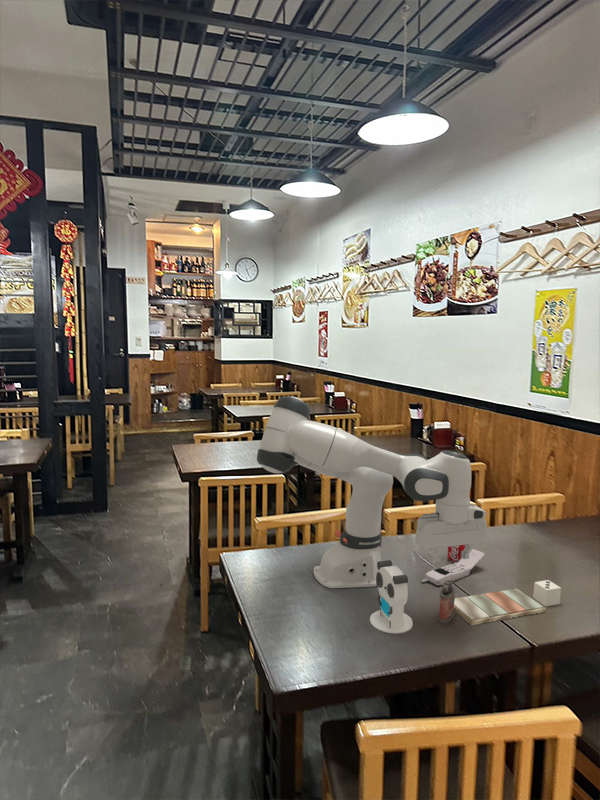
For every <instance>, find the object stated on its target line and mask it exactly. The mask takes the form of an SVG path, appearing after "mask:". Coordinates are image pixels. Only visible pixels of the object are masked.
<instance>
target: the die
mask: <svg viewBox="0 0 600 800" xmlns="http://www.w3.org/2000/svg"><path fill="white" fill-rule="evenodd" d="M533 584H534V586H533V597H532V599H533V600H534V601H536V602H537V603H539V604H540V605H542V606H543V607H550V606H558V605H560V604H561V595H562V587H560V586H559V585H557V584H556V583H554V582H553V581H550V580H549V579H547V580H545V579H544V580H539V581H534V583H533Z"/></svg>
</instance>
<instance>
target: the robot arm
mask: <svg viewBox="0 0 600 800" xmlns="http://www.w3.org/2000/svg"><path fill="white" fill-rule="evenodd" d="M310 416H311V409H310V407H309V405H308V404H307V403H306V402H305V401H303V399H301V398H299V397H296V396H290V395H289V396H288V395H287V396H286V395H284V396H281V397H279V398H278V399H277V401H276V402H275V404H274V406H273V410H272V412H271V414H270V416H269V417H268V420H267V422H266V425H265V429H264V431H263V435H262V438H261V441H260V442H261V443H260V445H259V448H258V449H257V453H256V461H257V463H258V465H260V466H261V467H262V468H263V469H264V470H266V471H268V472H270V473H273V474H285V473H287V472H290V470H291V469H292V468H293V467H294V466H298V465H299V466H302V467H304V468H306V469H309V470H311V471H313V472H317V473H318V474H322V475H324V476H327V477H331V478H336V479H339V480H342V481H344V482H347V483H349V484H350V485H351V486H352V493H351V497H350V500H349V502H348V503H347V505H346V508H345V528H344V530H343V532H342V531H340V530H339V529H336V530H334V533H333V534H334V535H335V537H336V538H338V539H339V541H338V542H337V543H335V545H333V546H332V547H331V548H329V549H328V550H327V551H325V552H324V553H323V554H322V557H321V560H320V564H319V565H316V566H314V568H313V571H312V572H313V573H312V574H313V576H314V578H315V580H316V581H318V583H320V584H321V585H322V586H324V587H325V588H329V589H346V588H351V589H352V588H369V587H370V588H372V587H376V586H377V584H376V575H377V572H379V570H378V568H377V562H378V561H382V558H381V548H382V539H383V537H382V531H381V525H382V509H383V505H384V501H385V497H386V495H387V494H388V493H389V492H390V490H391V489H392V487H393V486H394V485H393V484H394V478H395V479H397V480H398V481H399V482H400V484H401V485H402V488H403V489H404V492H405V493H406V494H407V496H408V497H410V499H412V500H414V501H417V502H430V501H435V509H434V512H432V513H423V514H422V515H421V516H420V517H418V518H417V520H416V521H417V522H416V530H415V531H416V532H415V537H414V541H415V545H416V546H417V547H418V548H420V549H421V550H424V551H425V550H427V551H428V553H429V555H430V562H431V563H432V564H439V562H440V556H438V555H437V554H435V552H436V551H437V549H441V548H448V547H450V546H458V545H466V547H465V549H464V551H461V558H463V559H469V553H470V552H471V550H472V549H474V544H480V543H484V542H485V541H486V539H487V535H488V534H487V533H488V528H487V527H488V525H487V523H488V522H487V520H486V519H485V518H486V517H487V511H486V510H484V509H482V508H481V507H479V506H478V505H475V504H472V503H471V499H470V490H471V488H472V466H471V465H472V464H471V461H470V459H469V458H468V457H467V455H465V454H463V453H460V452H459V451H458V452H457V451H454V450H449V449H448V450H442V451H440V452H439V453H438V454H437V455H435V456H434V457H431V458H429V459H428V457H426V456H425V455H422V454H419V453H406V454H405V453H397V452H394V451H390V450H388V449H384V448H381V447H379V446H376V445H372V444H370V443H368V442H366V441H364V440H362V439H361V438H359V437H357V436H356V435H354V434H352V433H349V432H348V431H346V430H343V429H342V428H341V429H340V428H338V427H335V426H333V425H329V424H326V423H322V422H318V421H313V420H310Z"/></svg>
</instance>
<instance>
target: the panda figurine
mask: <svg viewBox="0 0 600 800" xmlns="http://www.w3.org/2000/svg"><path fill="white" fill-rule="evenodd" d="M377 568H378V570H379V572H377V575H376V584H377V585H376V586H377V588H378V593H379V595H378V597H377V601H378V605H379V606H380V607H379V608H380V609H378V610H376V611H375V612H373V613H371V615H370V617H369V622H370V624H371V625H372V626H373V627H374V628H375V629H377V630H379V631H380V632H383V633H387V634H404V633H407V632H408V631H411V629H412V628H413V624H414V623H413V619H412V617H410V616H409V615H408V614H407V613H405V610H404V609H405V605H406V604H407V602H408V596H409V595H408V594H409V591H408V589H409V588H408V583H409V577H408V575H407V574H404V573H403V571H402V570H401V569H400V568H399V567H398V566H396V565H393V563H392V560H389V559H388V560H387V559H386V560H381V561H378V562H377Z"/></svg>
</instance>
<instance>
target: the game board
mask: <svg viewBox="0 0 600 800" xmlns="http://www.w3.org/2000/svg"><path fill="white" fill-rule="evenodd" d="M542 612H544V613H546V612H547V608H546V607H545V606H544V605H543V604H541V603H540V602H538V601H537V600H535V599H534V598H531V597H530V596H529V595H527V594H525V593H524V592H523V591H521V590H519V589H518V588H513V589H507V590H505V589H504V590H500V591H492V592H486V593H479V594H474V595H468V596H462V597H461V596H460V597H455V601H454V613H456V614H458V615H459V616H460V617H461V618H462V619H463V620H464V621H465V622H467V623H468V624H469V625H470V626H475V625H481V624H486V623H493V622H497V620H499V621H503V620H502V619H504V620H509V619H508V618H510V619H513V618H512V617H515V618H519V617H518V616H521V617H525V616H524V615H527V616H531V615H530V614H532V615H537V614H536V613H538V614H542ZM492 621H493V622H492Z"/></svg>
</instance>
